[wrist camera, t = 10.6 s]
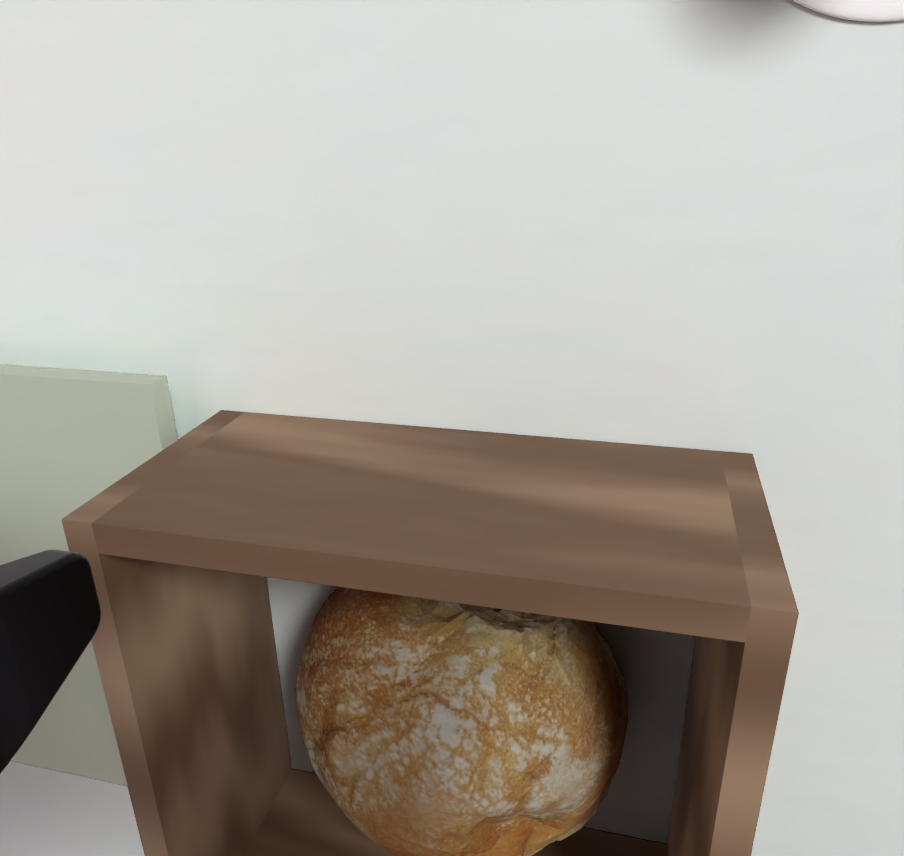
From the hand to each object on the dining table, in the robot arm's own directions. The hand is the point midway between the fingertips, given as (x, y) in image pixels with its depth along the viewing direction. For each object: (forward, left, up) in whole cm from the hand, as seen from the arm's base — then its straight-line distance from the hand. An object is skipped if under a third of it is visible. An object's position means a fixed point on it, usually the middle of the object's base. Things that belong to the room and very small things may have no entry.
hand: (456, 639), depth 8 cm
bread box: (-11, +3, -13) cm, 17 cm away
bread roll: (-12, +3, -13) cm, 18 cm away
